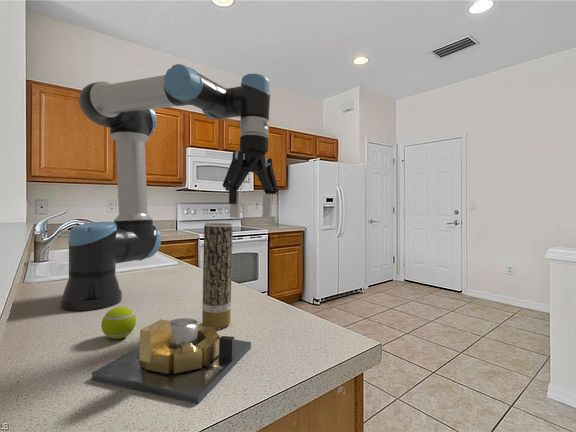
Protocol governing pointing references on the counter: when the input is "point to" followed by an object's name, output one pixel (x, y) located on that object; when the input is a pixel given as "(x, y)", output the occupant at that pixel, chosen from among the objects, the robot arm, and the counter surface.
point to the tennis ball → (118, 322)
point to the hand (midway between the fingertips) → (251, 217)
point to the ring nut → (177, 360)
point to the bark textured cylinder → (217, 275)
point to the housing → (172, 385)
